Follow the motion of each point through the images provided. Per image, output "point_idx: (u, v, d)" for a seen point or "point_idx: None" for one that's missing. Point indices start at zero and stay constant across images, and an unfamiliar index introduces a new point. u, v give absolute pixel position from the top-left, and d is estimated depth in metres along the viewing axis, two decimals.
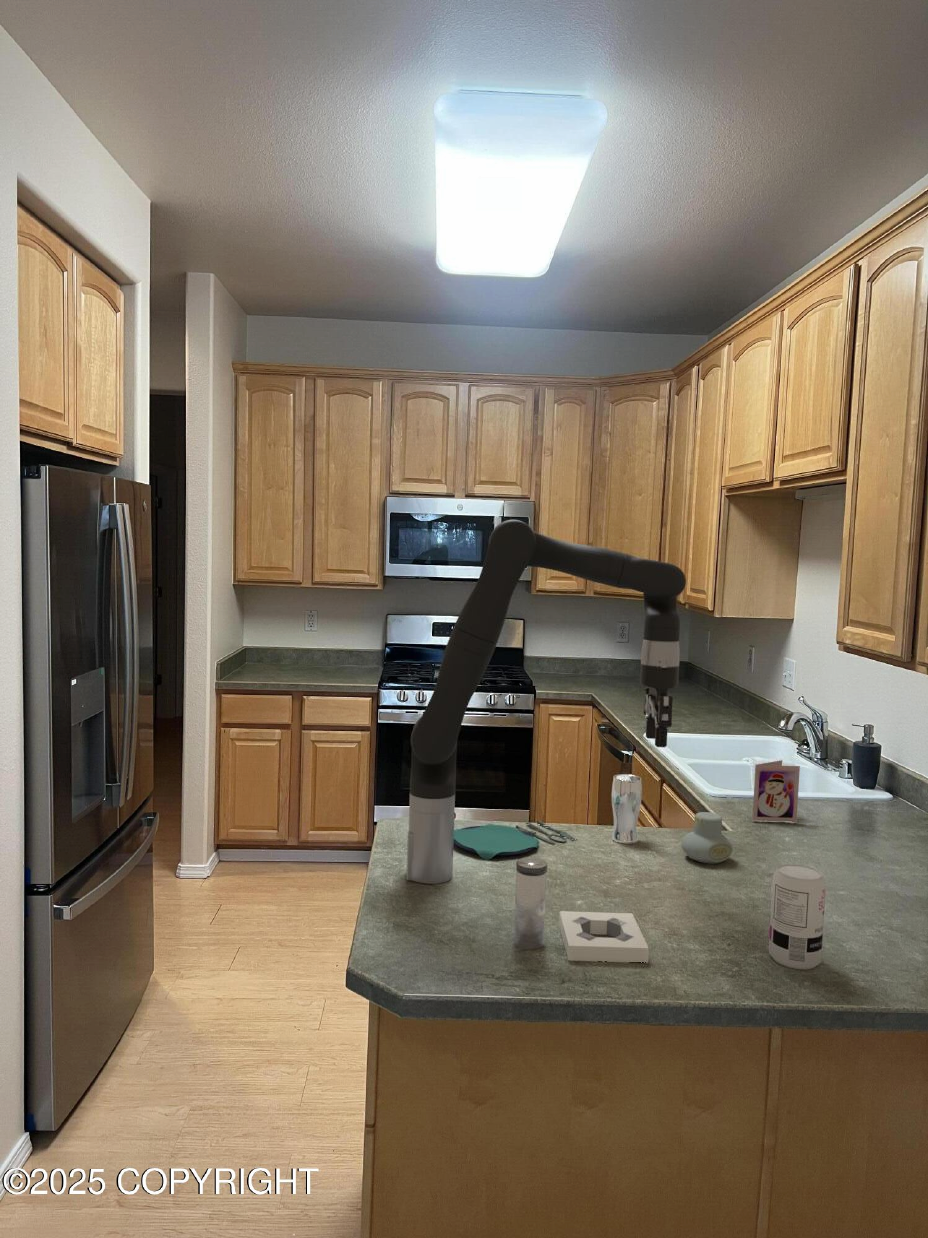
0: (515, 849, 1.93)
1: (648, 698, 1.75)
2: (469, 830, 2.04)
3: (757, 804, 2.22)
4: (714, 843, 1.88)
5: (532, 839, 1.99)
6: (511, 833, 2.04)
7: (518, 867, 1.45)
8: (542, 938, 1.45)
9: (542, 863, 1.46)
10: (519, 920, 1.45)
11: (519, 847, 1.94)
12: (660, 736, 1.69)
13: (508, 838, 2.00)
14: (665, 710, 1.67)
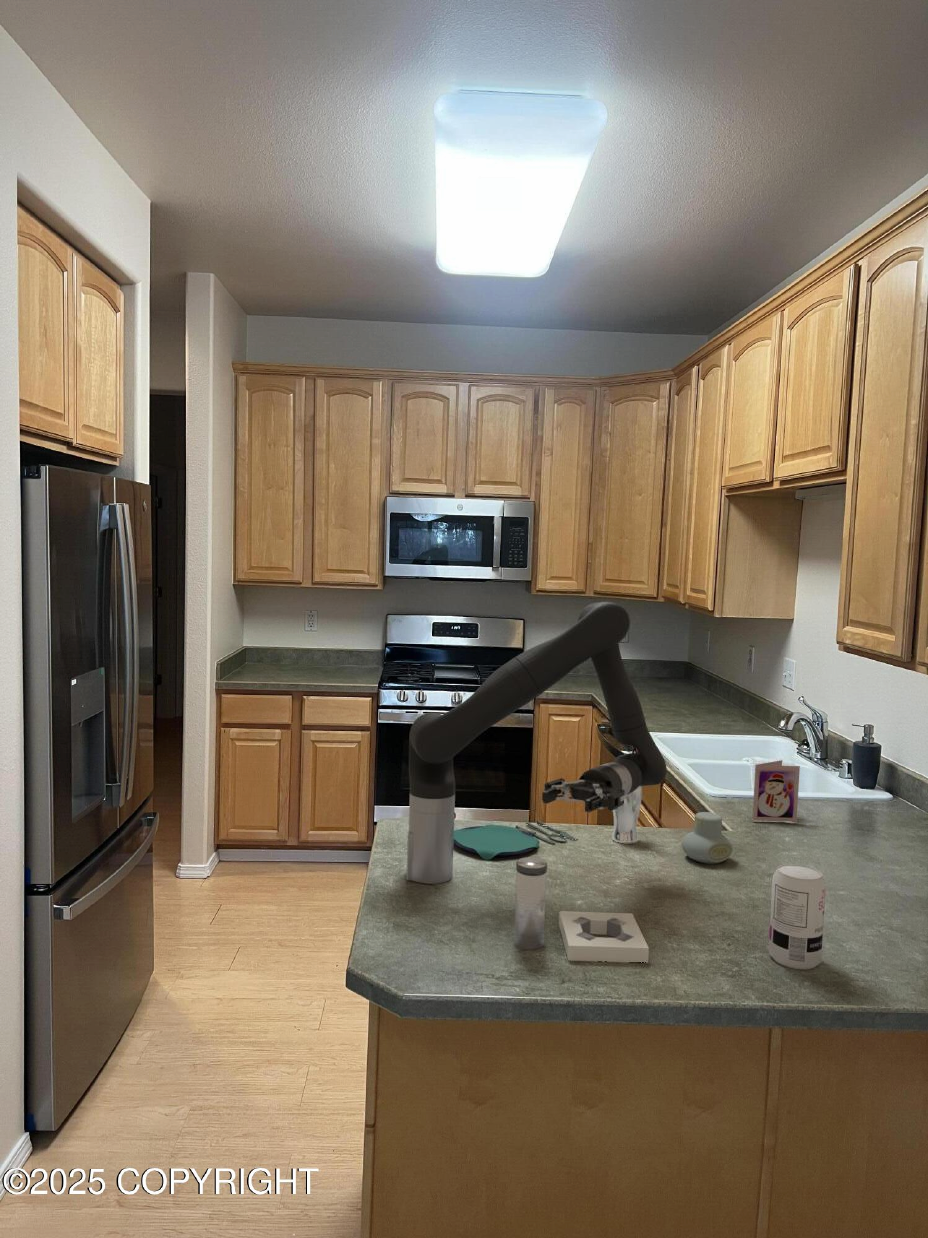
0: (515, 849, 1.92)
1: (584, 782, 1.62)
2: (469, 830, 2.04)
3: (757, 804, 2.22)
4: (714, 843, 1.88)
5: (532, 839, 1.99)
6: (511, 833, 2.04)
7: (518, 867, 1.45)
8: (542, 938, 1.45)
9: (542, 863, 1.46)
10: (519, 920, 1.45)
11: (519, 847, 1.94)
12: (597, 802, 1.53)
13: (508, 838, 2.00)
14: (619, 799, 1.57)
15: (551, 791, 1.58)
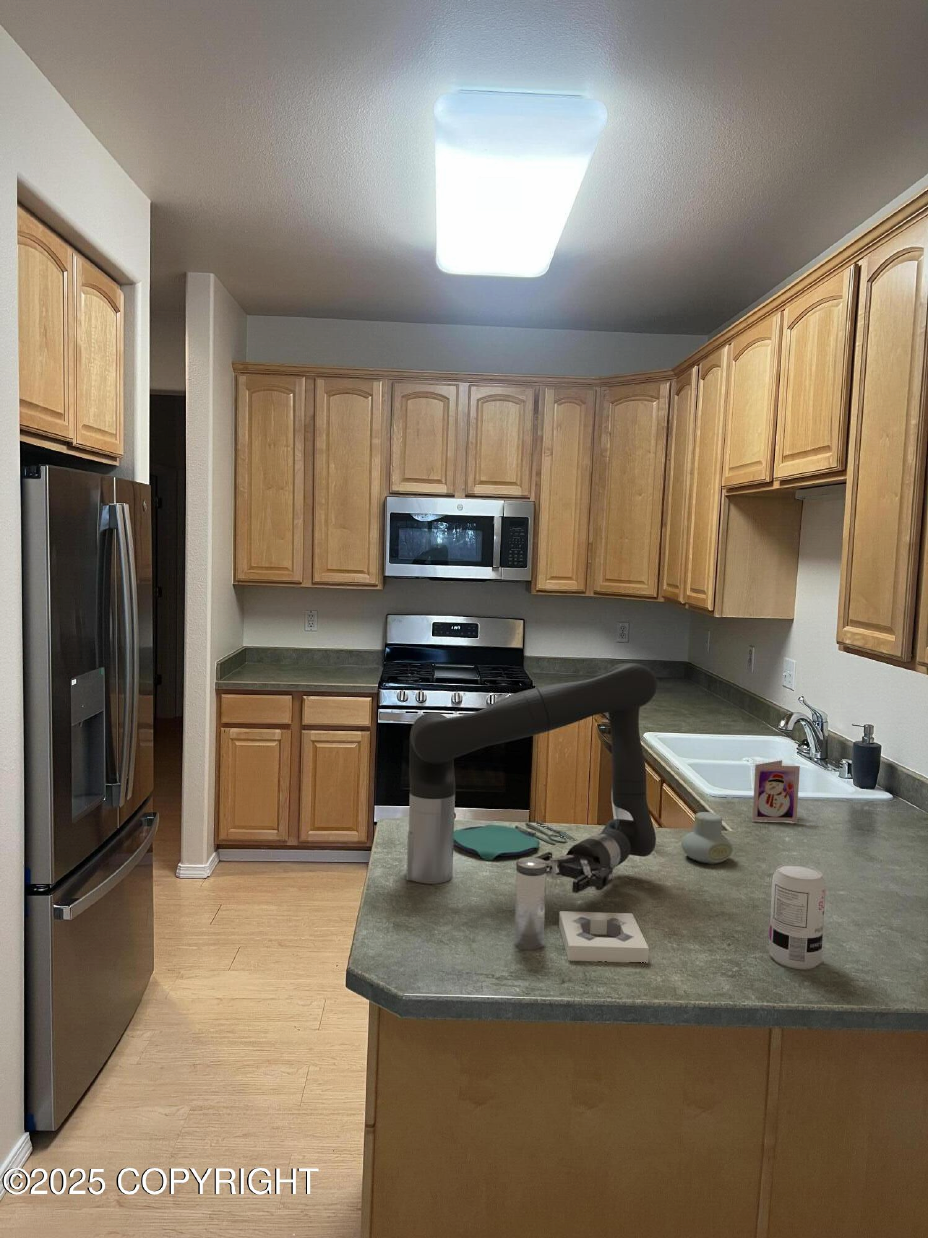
0: (516, 850, 1.92)
1: (572, 858, 1.60)
2: (469, 830, 2.04)
3: (757, 804, 2.22)
4: (714, 843, 1.88)
5: (532, 839, 1.98)
6: (511, 833, 2.03)
7: (518, 867, 1.45)
8: (542, 938, 1.45)
9: (542, 863, 1.46)
10: (519, 920, 1.45)
11: (520, 847, 1.94)
12: (585, 883, 1.51)
13: (508, 839, 2.00)
14: (607, 878, 1.55)
15: None
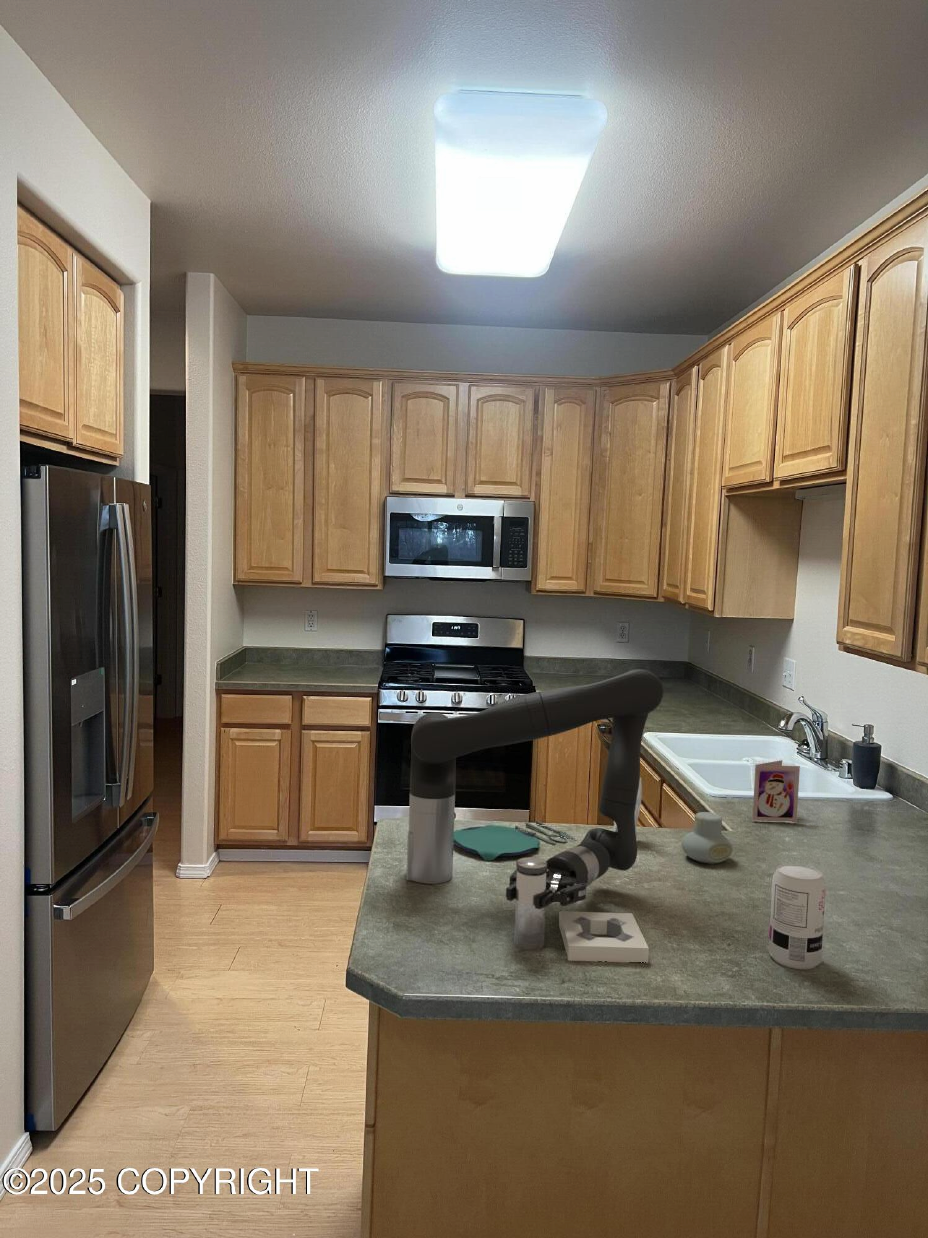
0: (517, 850, 1.92)
1: (548, 871, 1.52)
2: (469, 830, 2.03)
3: (757, 804, 2.22)
4: (714, 843, 1.88)
5: (533, 840, 1.98)
6: (511, 834, 2.03)
7: (518, 867, 1.45)
8: (542, 938, 1.45)
9: (542, 863, 1.46)
10: (519, 920, 1.45)
11: (520, 848, 1.94)
12: (549, 898, 1.44)
13: (509, 839, 2.00)
14: (576, 894, 1.46)
15: None
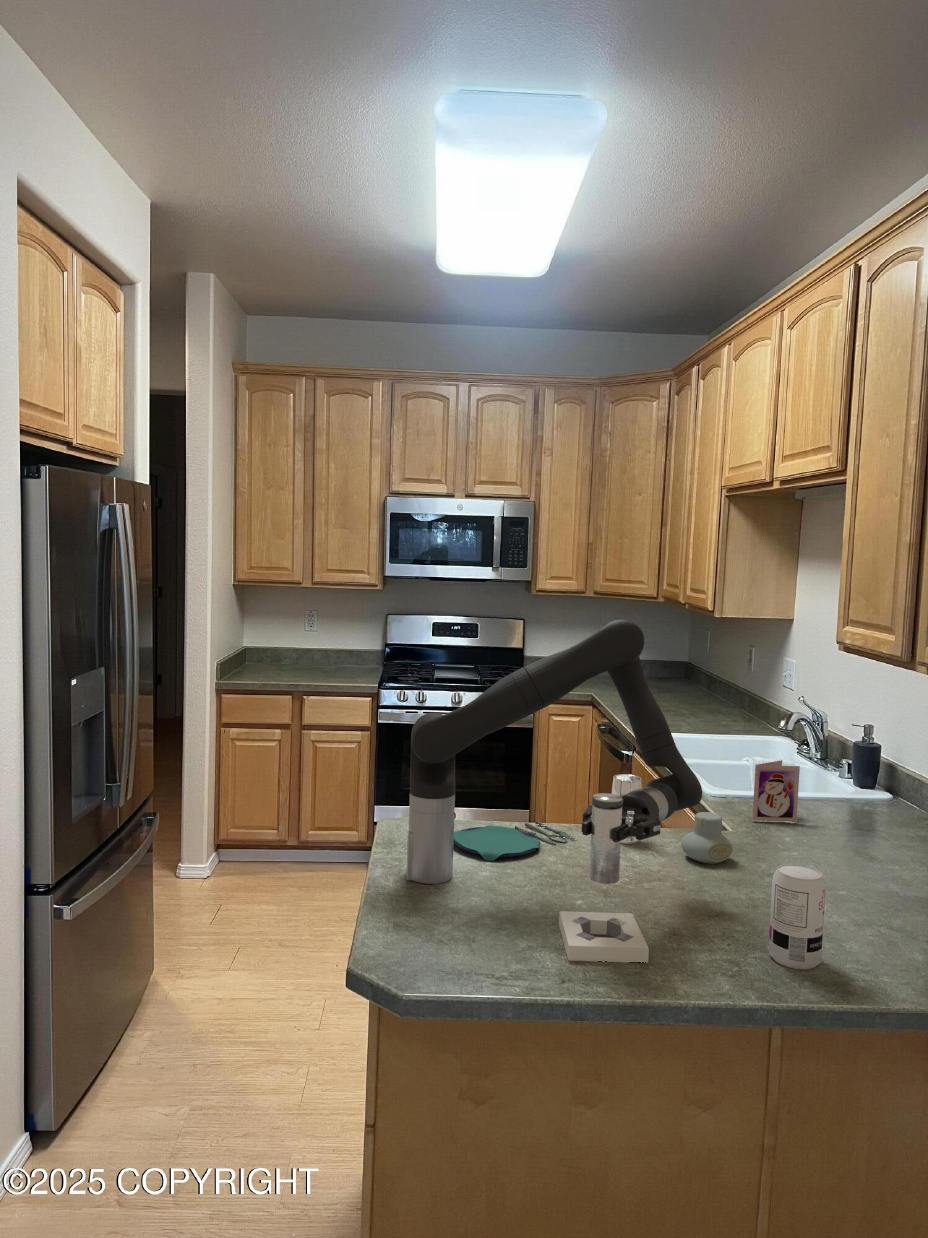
0: (517, 850, 1.92)
1: None
2: (469, 831, 2.03)
3: (757, 804, 2.22)
4: (714, 843, 1.88)
5: (533, 840, 1.98)
6: (511, 834, 2.03)
7: (594, 801, 1.45)
8: (618, 872, 1.46)
9: (617, 797, 1.46)
10: (596, 854, 1.45)
11: (521, 848, 1.93)
12: (626, 832, 1.44)
13: (509, 839, 2.00)
14: (652, 829, 1.47)
15: (591, 822, 1.47)
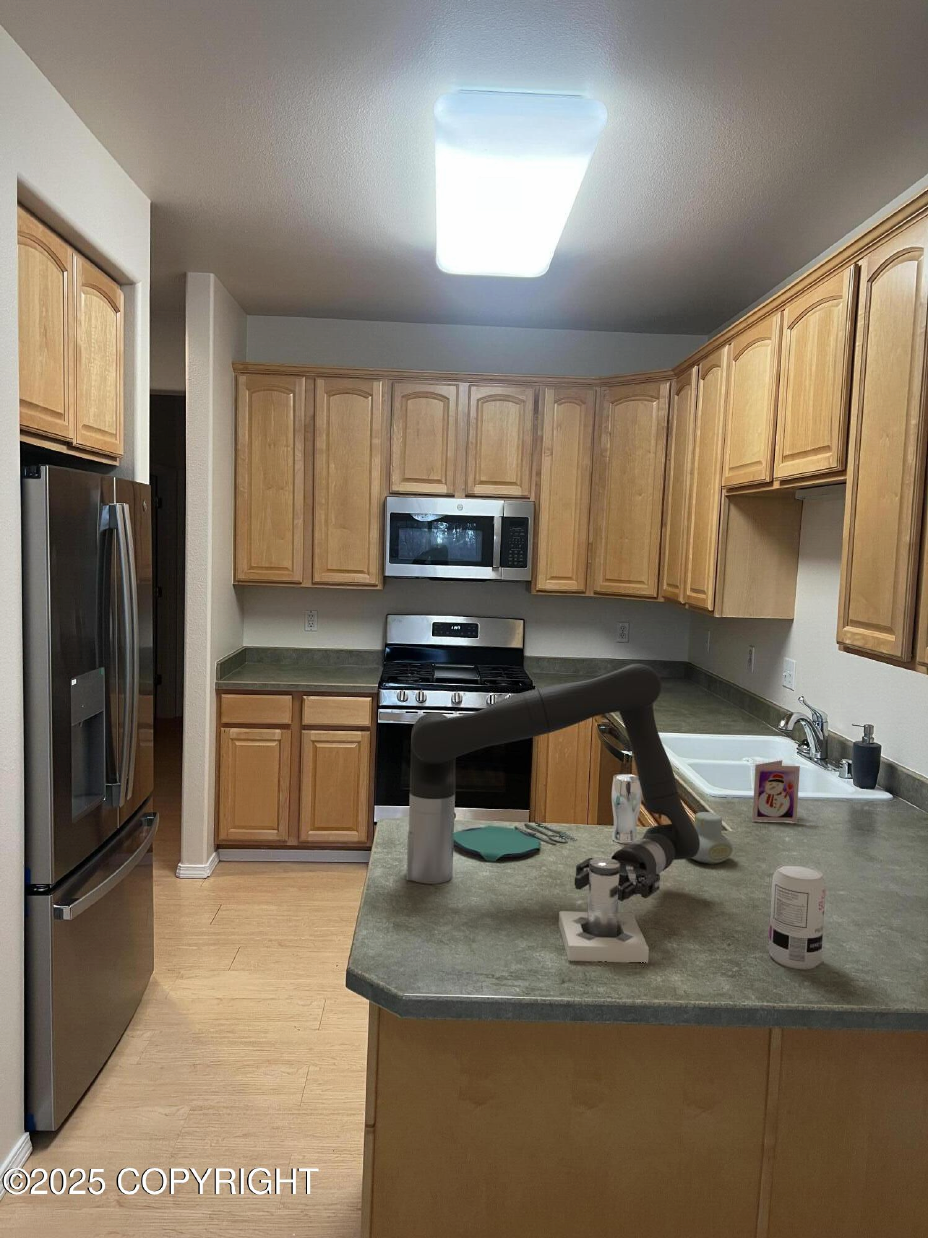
0: (518, 850, 1.92)
1: None
2: (469, 831, 2.03)
3: (757, 804, 2.22)
4: (714, 843, 1.88)
5: (534, 840, 1.98)
6: (511, 834, 2.03)
7: (592, 867, 1.46)
8: None
9: (615, 863, 1.47)
10: (593, 920, 1.46)
11: (522, 848, 1.93)
12: (631, 890, 1.44)
13: (509, 840, 1.99)
14: (654, 885, 1.48)
15: (584, 876, 1.49)
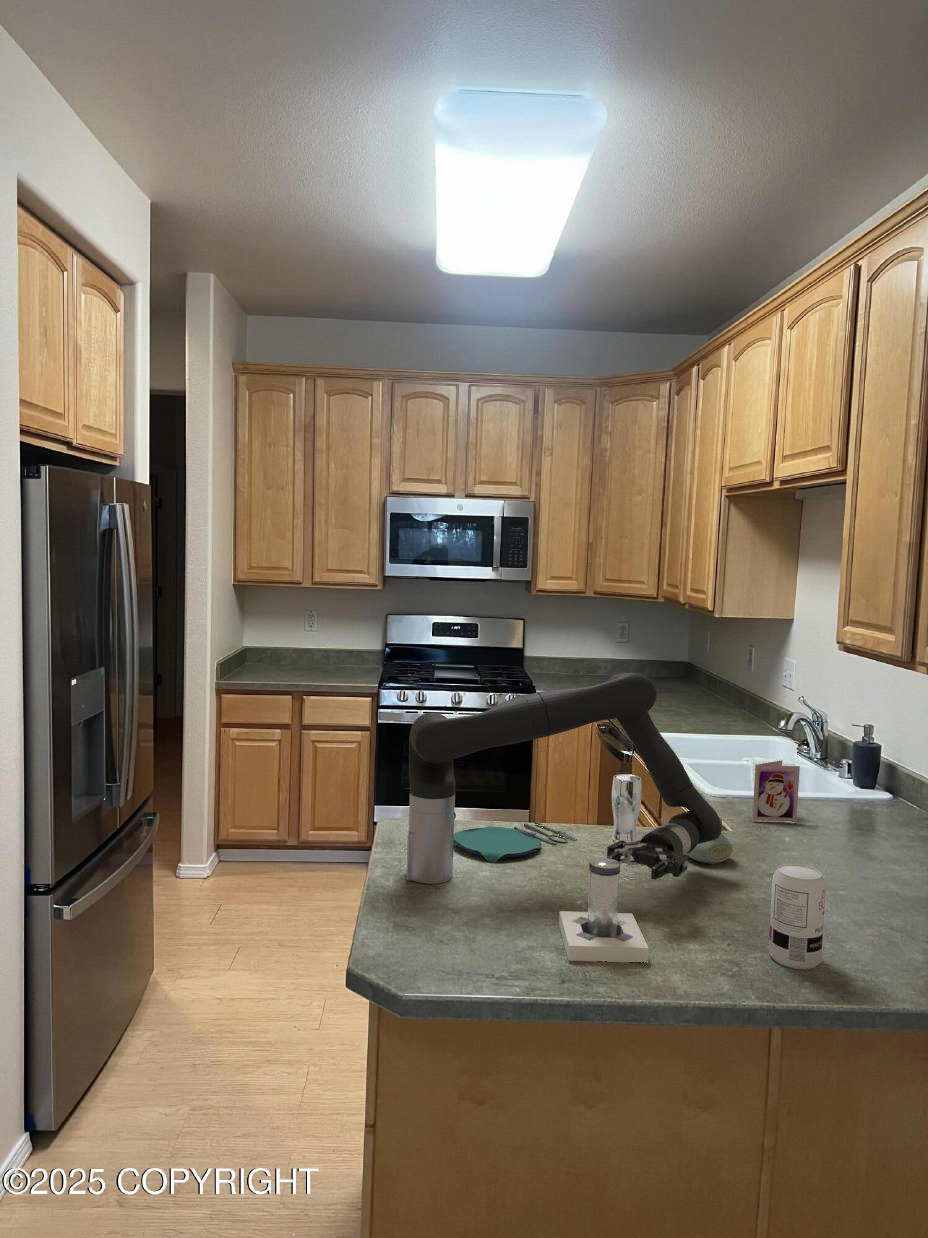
0: (519, 851, 1.91)
1: (647, 846, 1.63)
2: (469, 832, 2.02)
3: (757, 804, 2.22)
4: (714, 843, 1.88)
5: (534, 840, 1.98)
6: (511, 835, 2.03)
7: (592, 867, 1.46)
8: None
9: (614, 863, 1.47)
10: (593, 920, 1.46)
11: (522, 848, 1.93)
12: (663, 869, 1.55)
13: (510, 840, 1.99)
14: (683, 865, 1.58)
15: (615, 856, 1.60)
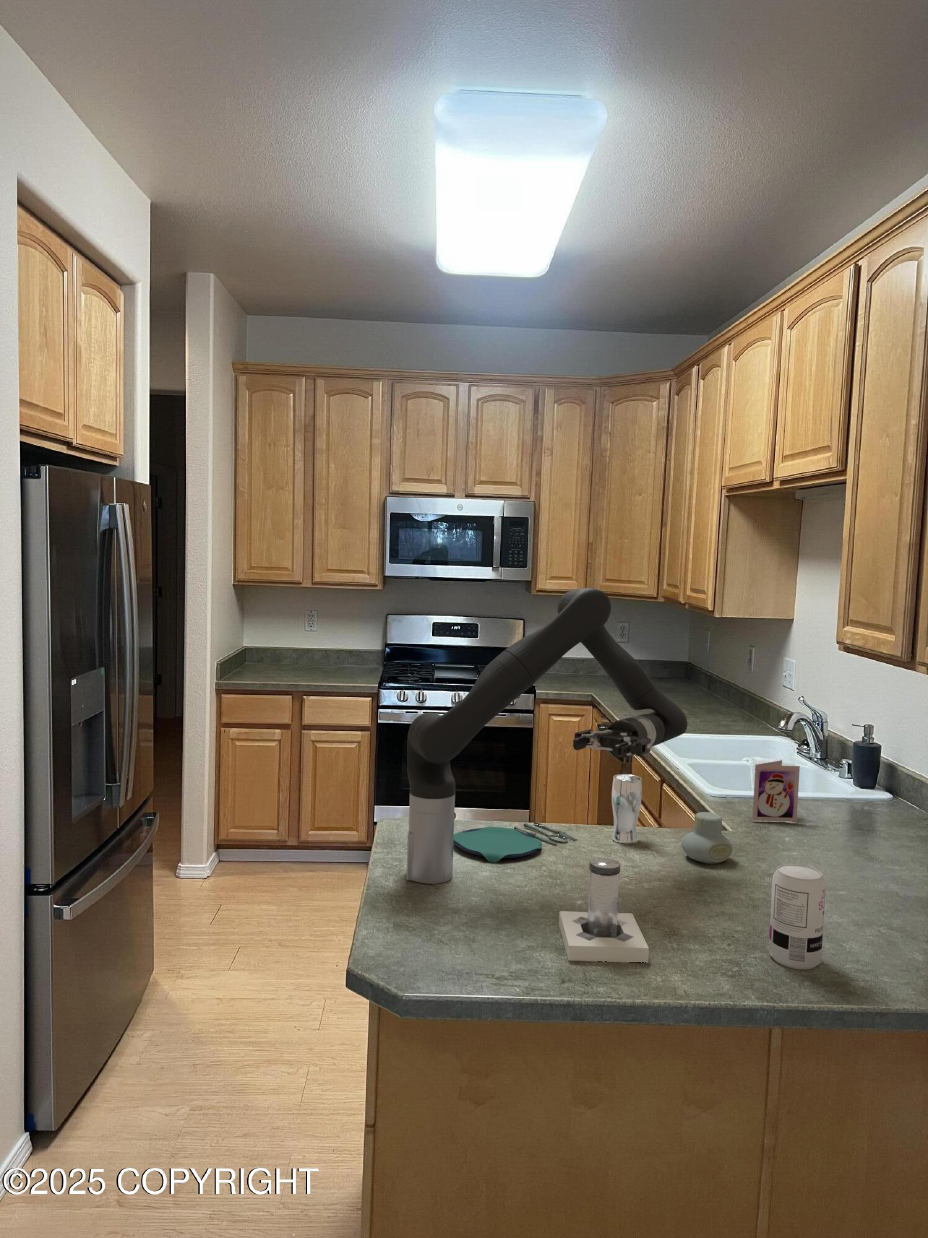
0: (520, 851, 1.91)
1: (612, 731, 1.71)
2: (469, 832, 2.02)
3: (757, 804, 2.22)
4: (714, 843, 1.88)
5: (534, 840, 1.98)
6: (512, 835, 2.02)
7: (592, 867, 1.46)
8: None
9: (615, 863, 1.47)
10: (593, 920, 1.46)
11: (523, 849, 1.93)
12: (626, 748, 1.62)
13: (510, 840, 1.99)
14: (646, 746, 1.65)
15: (581, 739, 1.67)
